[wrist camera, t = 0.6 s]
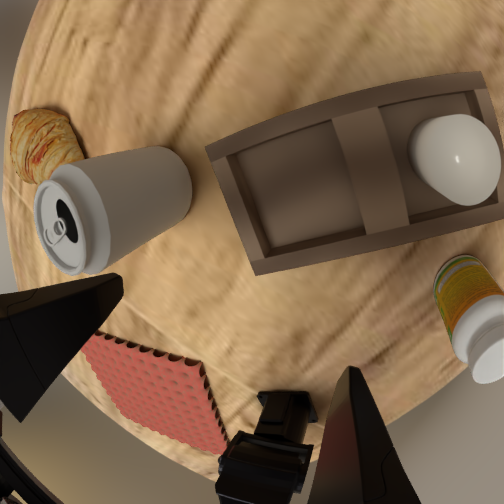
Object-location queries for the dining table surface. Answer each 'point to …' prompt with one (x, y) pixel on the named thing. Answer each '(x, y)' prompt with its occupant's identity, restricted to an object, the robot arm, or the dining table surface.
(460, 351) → the supplement bottle
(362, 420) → the robot arm
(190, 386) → the red studded mat
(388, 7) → the dining table surface
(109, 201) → the can
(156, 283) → the dining table surface
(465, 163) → the white rounded cylinder
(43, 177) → the croissant
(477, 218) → the caddy
